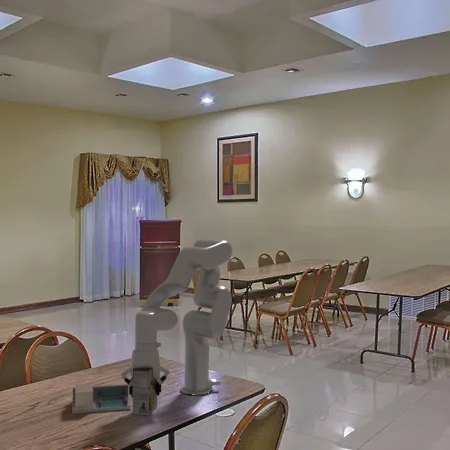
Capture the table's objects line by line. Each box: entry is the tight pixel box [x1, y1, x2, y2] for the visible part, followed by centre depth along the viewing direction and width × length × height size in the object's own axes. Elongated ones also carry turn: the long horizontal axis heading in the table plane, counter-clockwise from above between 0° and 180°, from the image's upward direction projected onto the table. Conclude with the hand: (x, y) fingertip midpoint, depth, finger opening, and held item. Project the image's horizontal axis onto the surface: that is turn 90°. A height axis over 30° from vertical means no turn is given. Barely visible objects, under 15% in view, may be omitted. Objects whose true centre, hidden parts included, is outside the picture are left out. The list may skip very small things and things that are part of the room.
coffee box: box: [132, 368, 158, 417], centre depth 191 cm, size 9×6×16 cm
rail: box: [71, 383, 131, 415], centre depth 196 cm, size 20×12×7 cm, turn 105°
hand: (145, 395), depth 191 cm, fingers closed on coffee box, 8 cm apart
